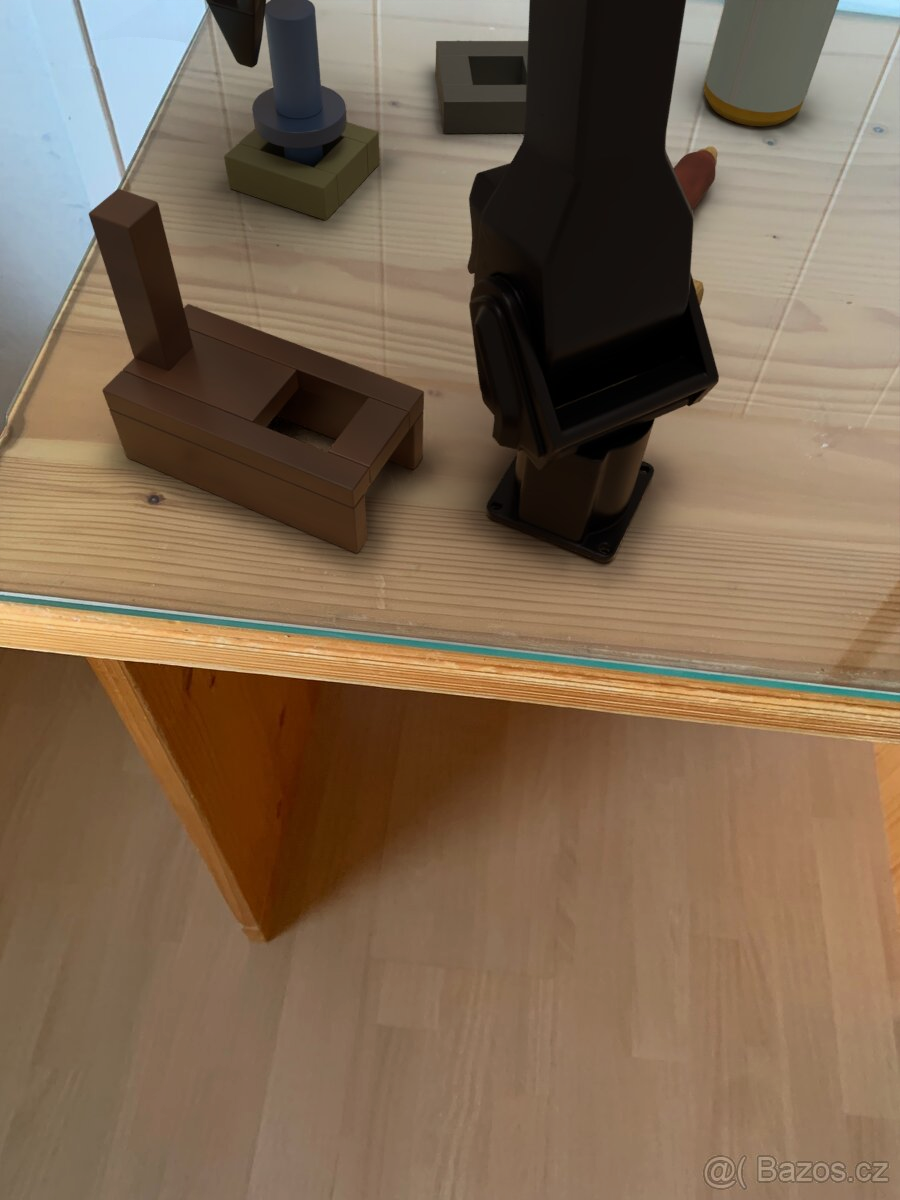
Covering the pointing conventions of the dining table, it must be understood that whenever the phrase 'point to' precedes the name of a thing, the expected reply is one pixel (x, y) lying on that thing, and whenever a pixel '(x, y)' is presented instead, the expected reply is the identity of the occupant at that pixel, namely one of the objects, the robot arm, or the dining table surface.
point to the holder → (482, 85)
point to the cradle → (304, 171)
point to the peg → (297, 87)
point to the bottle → (766, 58)
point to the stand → (243, 395)
